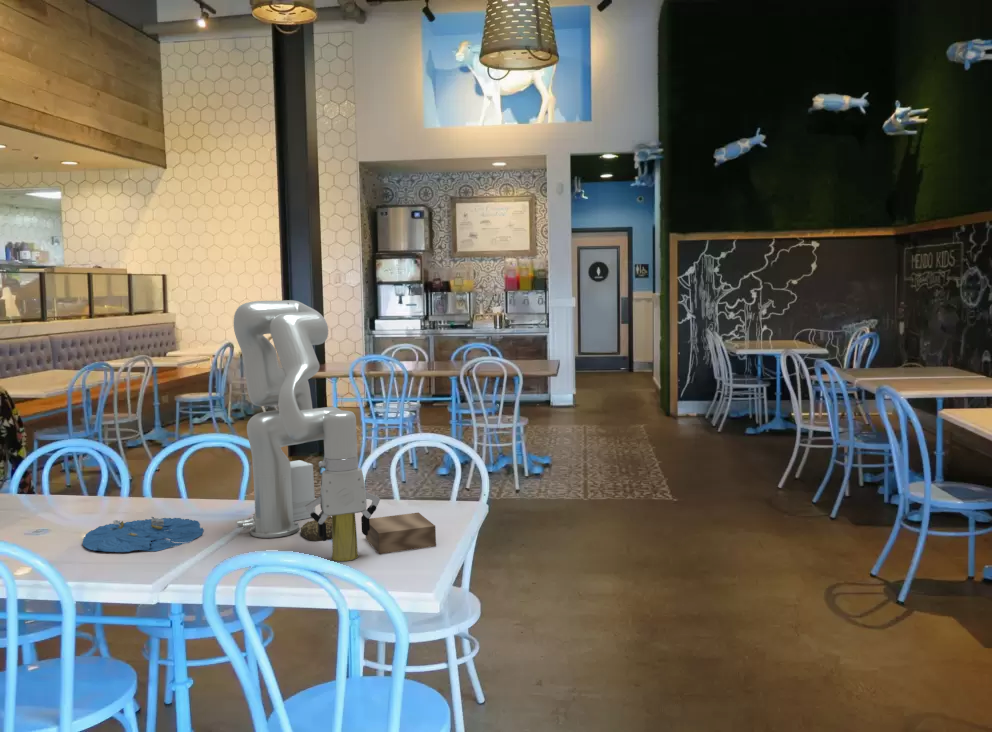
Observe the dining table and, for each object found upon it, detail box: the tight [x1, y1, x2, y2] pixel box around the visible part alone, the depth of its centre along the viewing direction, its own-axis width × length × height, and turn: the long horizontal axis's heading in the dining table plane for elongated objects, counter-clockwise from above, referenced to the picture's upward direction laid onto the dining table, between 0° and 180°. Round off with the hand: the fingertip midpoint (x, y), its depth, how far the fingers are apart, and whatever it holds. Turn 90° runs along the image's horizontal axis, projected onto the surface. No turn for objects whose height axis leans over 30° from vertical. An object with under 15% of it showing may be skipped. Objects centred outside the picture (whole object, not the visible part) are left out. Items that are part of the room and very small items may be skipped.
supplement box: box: [290, 459, 316, 522], centre depth 238 cm, size 9×9×15 cm
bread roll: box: [299, 516, 332, 542], centre depth 221 cm, size 13×12×5 cm
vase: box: [331, 513, 359, 562], centre depth 200 cm, size 6×6×14 cm
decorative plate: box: [82, 516, 204, 553], centre depth 222 cm, size 30×30×5 cm
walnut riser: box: [365, 512, 437, 555], centre depth 211 cm, size 14×14×5 cm
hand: (344, 536), depth 200 cm, fingers open, 9 cm apart
